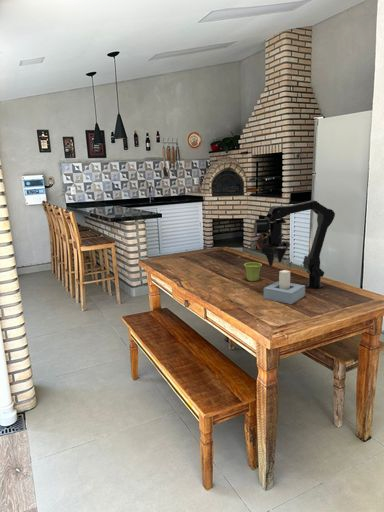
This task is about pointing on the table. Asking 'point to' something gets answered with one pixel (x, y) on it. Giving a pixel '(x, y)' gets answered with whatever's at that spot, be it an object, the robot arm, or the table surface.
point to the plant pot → (252, 270)
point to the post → (284, 279)
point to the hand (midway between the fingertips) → (275, 264)
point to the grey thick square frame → (284, 293)
